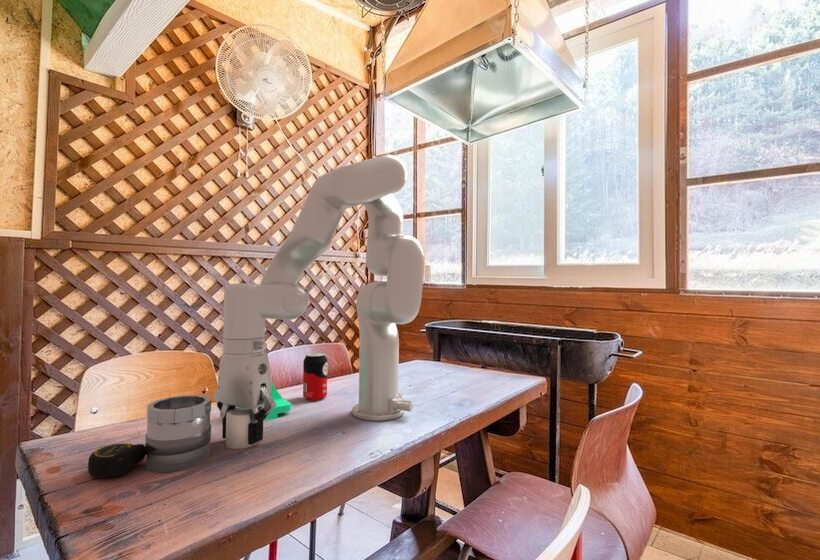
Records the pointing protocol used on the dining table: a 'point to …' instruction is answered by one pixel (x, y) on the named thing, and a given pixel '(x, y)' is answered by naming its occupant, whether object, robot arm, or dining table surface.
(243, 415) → the cap
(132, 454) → the tape measure
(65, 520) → the dining table surface
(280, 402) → the camera mount
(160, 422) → the grey hollow cylinder
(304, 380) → the beverage can
